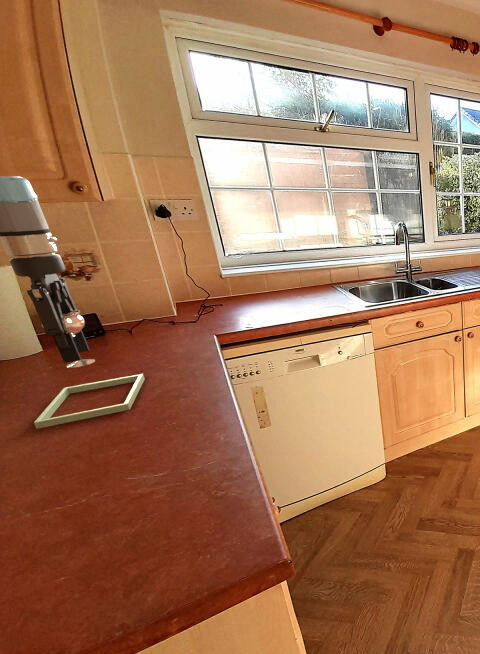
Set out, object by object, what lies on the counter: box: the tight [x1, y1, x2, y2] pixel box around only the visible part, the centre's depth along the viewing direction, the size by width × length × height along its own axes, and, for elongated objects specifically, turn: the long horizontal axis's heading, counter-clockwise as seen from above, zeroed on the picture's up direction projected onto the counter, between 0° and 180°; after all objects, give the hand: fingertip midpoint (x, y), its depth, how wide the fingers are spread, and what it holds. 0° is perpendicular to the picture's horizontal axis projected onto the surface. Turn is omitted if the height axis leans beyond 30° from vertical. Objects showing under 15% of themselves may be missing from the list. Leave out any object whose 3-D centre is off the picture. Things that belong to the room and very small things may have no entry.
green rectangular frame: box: [33, 373, 146, 430], centre depth 102 cm, size 16×20×3 cm
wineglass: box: [41, 309, 96, 369], centre depth 96 cm, size 7×7×12 cm
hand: (77, 356), depth 98 cm, fingers closed on wineglass, 6 cm apart
